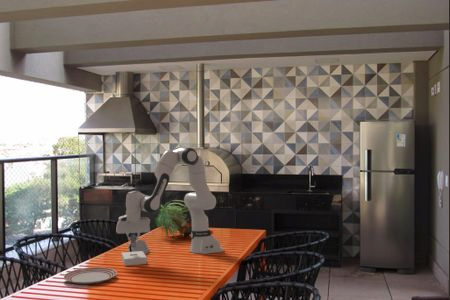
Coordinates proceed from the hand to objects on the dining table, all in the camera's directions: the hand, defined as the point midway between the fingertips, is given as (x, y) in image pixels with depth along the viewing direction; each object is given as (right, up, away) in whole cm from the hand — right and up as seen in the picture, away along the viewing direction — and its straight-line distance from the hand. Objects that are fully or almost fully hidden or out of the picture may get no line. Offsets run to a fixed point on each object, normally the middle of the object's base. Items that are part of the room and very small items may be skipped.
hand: (133, 240), depth 302 cm
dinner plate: (-15, -14, -39) cm, 44 cm away
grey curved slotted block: (0, -13, +21) cm, 25 cm away
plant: (+18, -12, +74) cm, 77 cm away
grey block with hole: (0, -13, 0) cm, 13 cm away
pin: (0, -4, 0) cm, 4 cm away
